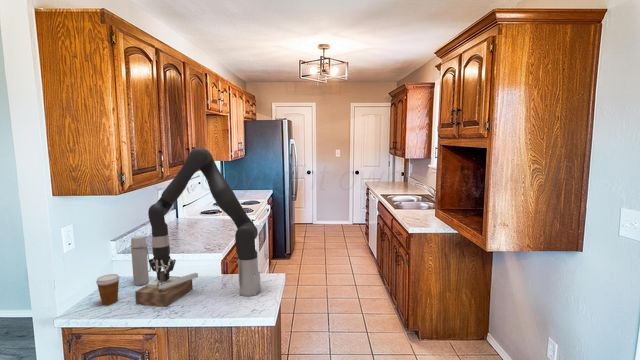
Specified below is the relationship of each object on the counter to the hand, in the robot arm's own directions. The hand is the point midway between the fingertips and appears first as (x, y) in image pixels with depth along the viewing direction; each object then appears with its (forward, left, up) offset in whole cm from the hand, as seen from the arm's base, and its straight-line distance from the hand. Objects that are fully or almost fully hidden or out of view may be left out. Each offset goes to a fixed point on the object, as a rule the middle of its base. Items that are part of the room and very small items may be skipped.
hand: (163, 279), depth 172 cm
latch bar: (-9, +2, 0) cm, 9 cm away
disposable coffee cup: (+21, +11, -8) cm, 25 cm away
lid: (0, 0, -2) cm, 2 cm away
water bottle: (+23, -13, -8) cm, 28 cm away
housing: (-1, 0, -8) cm, 8 cm away
